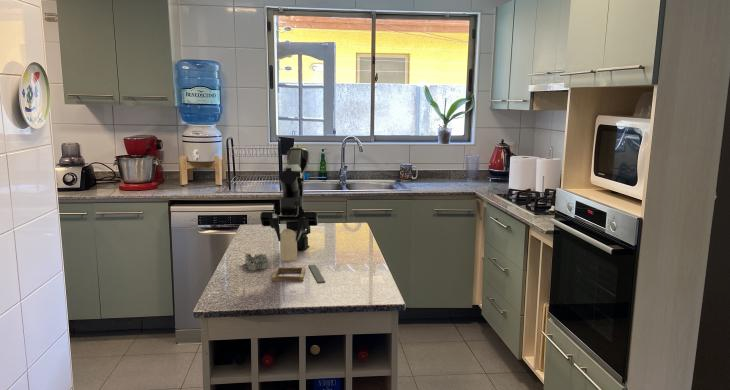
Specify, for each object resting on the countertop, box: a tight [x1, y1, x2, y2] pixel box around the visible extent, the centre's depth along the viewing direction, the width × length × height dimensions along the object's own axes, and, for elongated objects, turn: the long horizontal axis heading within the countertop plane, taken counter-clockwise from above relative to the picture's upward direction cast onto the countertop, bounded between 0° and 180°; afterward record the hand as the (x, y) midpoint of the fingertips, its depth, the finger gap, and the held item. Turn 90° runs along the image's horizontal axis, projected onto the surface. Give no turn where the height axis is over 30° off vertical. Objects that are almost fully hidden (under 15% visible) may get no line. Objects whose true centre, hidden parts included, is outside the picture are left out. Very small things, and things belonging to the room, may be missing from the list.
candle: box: [279, 228, 298, 262], centre depth 170 cm, size 6×6×10 cm
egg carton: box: [244, 252, 269, 271], centre depth 183 cm, size 11×8×4 cm
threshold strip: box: [308, 264, 326, 284], centre depth 174 cm, size 18×2×1 cm, turn 16°
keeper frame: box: [271, 266, 306, 283], centre depth 172 cm, size 10×10×2 cm
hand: (288, 240), depth 168 cm, fingers closed on candle, 5 cm apart
